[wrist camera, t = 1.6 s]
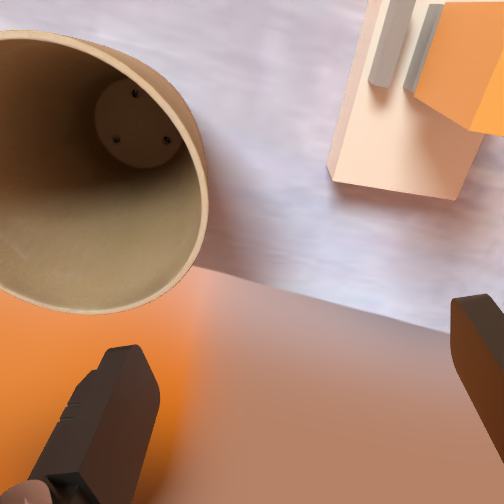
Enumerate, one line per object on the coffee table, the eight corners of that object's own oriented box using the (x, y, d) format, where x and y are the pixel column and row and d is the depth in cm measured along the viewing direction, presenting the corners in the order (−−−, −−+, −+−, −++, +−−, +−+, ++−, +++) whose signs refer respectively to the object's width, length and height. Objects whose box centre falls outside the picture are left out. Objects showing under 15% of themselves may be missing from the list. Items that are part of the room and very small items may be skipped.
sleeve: (413, 96, 26) (468, 130, 19) (445, 2, 23) (523, 1, 16) (491, 110, 26) (574, 148, 19) (531, 18, 23) (644, 24, 16)
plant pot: (250, 52, 32) (241, 89, 18) (208, 221, 39) (179, 338, 25) (50, -10, 30) (-129, -21, 16) (45, 179, 37) (-81, 281, 24)
